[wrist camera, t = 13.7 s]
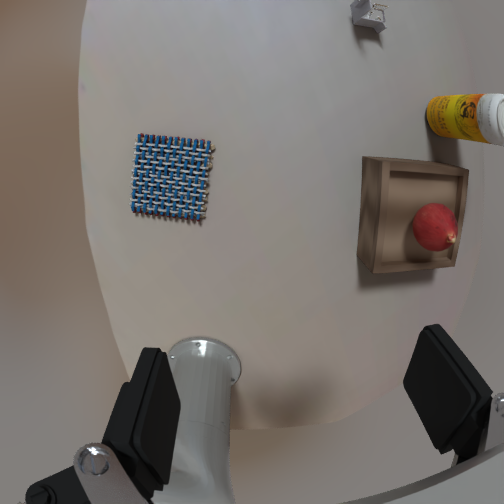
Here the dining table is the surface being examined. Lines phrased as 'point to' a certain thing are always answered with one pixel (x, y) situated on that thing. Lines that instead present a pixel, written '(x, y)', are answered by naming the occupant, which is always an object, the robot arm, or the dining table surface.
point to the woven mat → (170, 176)
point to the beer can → (468, 117)
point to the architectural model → (366, 15)
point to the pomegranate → (435, 227)
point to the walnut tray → (406, 211)
